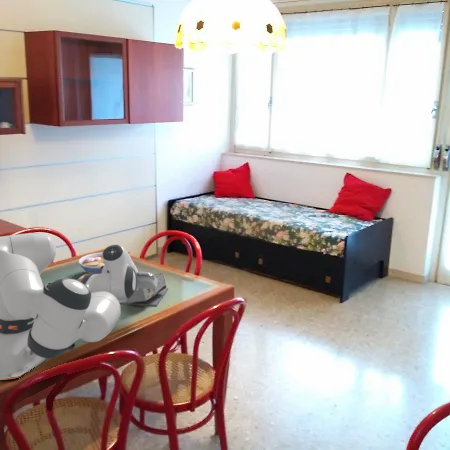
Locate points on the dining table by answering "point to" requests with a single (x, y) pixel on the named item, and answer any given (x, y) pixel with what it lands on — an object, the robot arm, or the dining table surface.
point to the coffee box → (148, 291)
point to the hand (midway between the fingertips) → (134, 288)
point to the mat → (150, 302)
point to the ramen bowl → (92, 263)
